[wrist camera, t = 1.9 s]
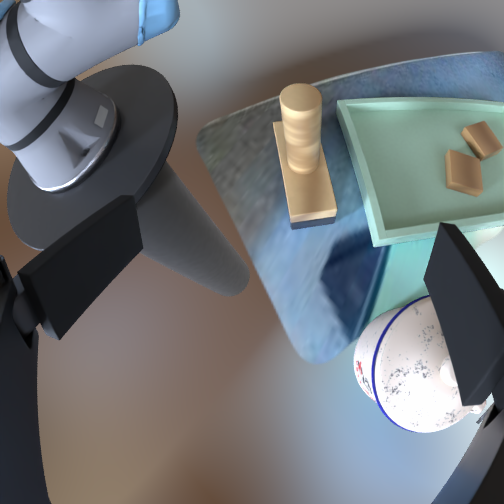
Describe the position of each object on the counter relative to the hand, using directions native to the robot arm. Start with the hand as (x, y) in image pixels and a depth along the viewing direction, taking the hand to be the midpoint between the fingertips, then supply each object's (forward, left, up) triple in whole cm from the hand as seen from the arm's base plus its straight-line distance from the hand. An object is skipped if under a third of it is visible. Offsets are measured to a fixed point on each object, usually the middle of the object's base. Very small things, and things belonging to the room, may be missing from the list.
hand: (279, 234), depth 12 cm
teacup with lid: (+10, -9, -15) cm, 20 cm away
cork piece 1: (+25, +12, -14) cm, 31 cm away
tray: (+21, +10, -15) cm, 28 cm away
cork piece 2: (+20, +8, -14) cm, 26 cm away
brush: (+3, +10, -15) cm, 19 cm away
